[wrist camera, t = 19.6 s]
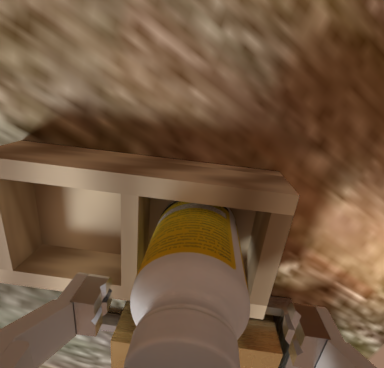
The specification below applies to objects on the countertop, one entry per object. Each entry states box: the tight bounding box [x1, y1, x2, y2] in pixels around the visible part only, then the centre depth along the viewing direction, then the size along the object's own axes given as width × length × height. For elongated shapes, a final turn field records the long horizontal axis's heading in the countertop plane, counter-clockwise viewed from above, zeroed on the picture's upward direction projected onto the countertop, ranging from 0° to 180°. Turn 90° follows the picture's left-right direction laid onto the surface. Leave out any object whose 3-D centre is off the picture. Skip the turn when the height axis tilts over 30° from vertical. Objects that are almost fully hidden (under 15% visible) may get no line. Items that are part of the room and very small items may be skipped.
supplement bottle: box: [124, 201, 250, 368], centre depth 12 cm, size 5×5×10 cm
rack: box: [0, 140, 300, 319], centre depth 16 cm, size 18×9×4 cm, turn 84°
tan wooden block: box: [111, 301, 283, 368], centre depth 19 cm, size 12×3×5 cm, turn 84°
